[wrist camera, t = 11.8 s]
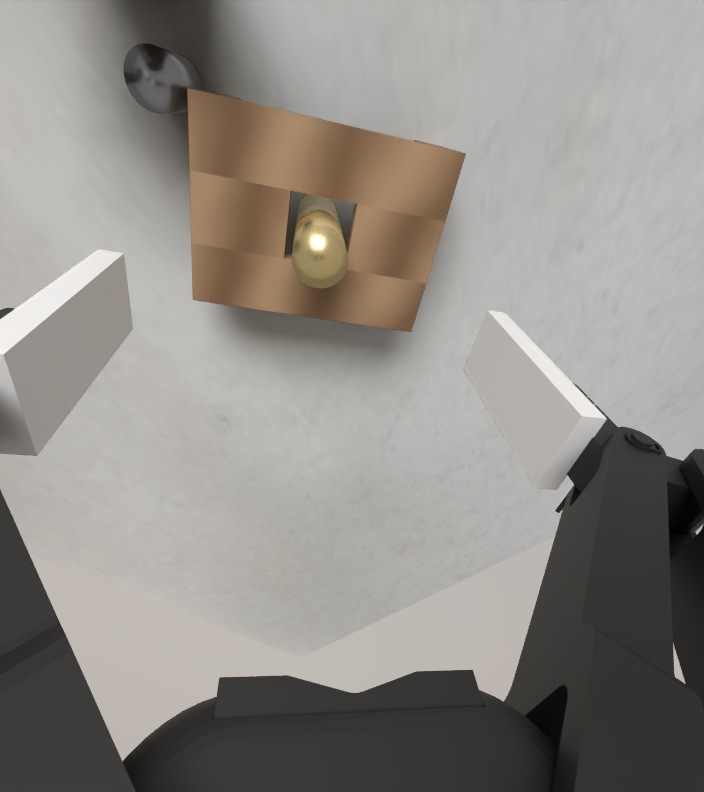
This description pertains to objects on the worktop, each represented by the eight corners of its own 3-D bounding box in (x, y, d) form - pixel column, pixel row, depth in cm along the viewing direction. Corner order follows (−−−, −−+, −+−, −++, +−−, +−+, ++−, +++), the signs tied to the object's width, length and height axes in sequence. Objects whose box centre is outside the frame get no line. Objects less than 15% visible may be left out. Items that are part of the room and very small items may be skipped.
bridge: (210, 271, 33) (192, 299, 28) (210, 91, 26) (187, 88, 22) (397, 301, 36) (411, 332, 31) (440, 146, 29) (465, 153, 24)
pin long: (295, 229, 32) (288, 283, 22) (300, 187, 30) (295, 225, 20) (332, 237, 32) (342, 292, 23) (340, 196, 31) (353, 237, 21)
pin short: (155, 106, 27) (127, 106, 23) (151, 48, 25) (120, 36, 21) (202, 117, 27) (183, 118, 23) (201, 60, 26) (181, 51, 21)
